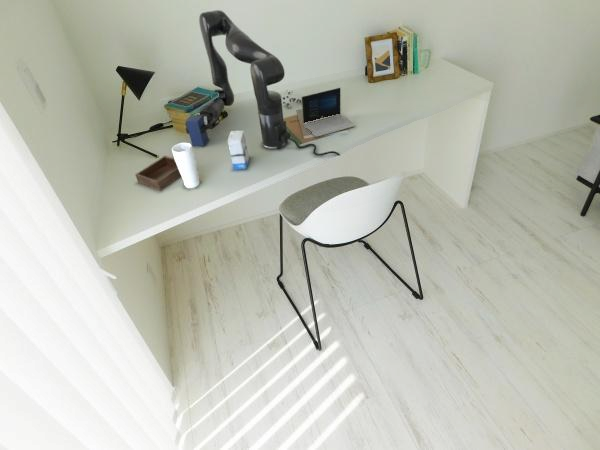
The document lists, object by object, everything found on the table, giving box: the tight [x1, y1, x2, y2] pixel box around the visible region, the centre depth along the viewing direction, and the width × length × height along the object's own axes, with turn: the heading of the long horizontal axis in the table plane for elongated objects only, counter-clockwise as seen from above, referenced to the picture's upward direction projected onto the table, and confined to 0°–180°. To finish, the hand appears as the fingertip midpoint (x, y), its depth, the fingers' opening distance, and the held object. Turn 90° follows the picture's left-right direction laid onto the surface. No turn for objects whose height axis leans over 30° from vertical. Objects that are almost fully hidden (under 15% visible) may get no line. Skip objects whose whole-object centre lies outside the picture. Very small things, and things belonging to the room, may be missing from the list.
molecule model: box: [281, 89, 302, 109], centre depth 186 cm, size 6×12×8 cm, turn 128°
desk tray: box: [134, 155, 182, 192], centre depth 145 cm, size 12×15×4 cm
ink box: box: [227, 130, 250, 171], centre depth 146 cm, size 9×5×12 cm, turn 178°
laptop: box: [301, 87, 355, 138], centre depth 164 cm, size 18×12×13 cm
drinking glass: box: [171, 142, 201, 189], centre depth 136 cm, size 7×7×15 cm
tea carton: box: [185, 114, 209, 147], centre depth 161 cm, size 5×6×11 cm
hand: (194, 131), depth 159 cm, fingers open, 5 cm apart
